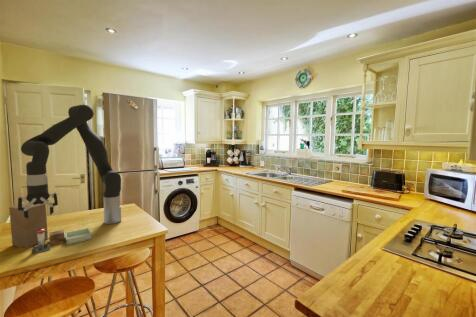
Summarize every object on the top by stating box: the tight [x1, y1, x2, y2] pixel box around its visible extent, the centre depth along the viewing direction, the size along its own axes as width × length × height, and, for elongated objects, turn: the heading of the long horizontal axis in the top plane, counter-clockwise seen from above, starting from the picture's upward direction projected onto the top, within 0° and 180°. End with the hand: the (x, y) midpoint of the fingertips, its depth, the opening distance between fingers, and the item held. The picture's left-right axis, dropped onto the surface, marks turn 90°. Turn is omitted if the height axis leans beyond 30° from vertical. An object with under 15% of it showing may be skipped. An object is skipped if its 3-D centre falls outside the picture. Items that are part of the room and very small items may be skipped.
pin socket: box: [32, 242, 51, 255], centre depth 110 cm, size 6×6×1 cm
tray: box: [64, 227, 93, 246], centre depth 122 cm, size 11×10×3 cm
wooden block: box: [8, 201, 49, 249], centre depth 115 cm, size 10×10×20 cm
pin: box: [36, 228, 46, 250], centre depth 110 cm, size 3×3×10 cm
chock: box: [48, 229, 66, 246], centre depth 118 cm, size 6×4×5 cm
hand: (39, 216), depth 109 cm, fingers open, 8 cm apart
